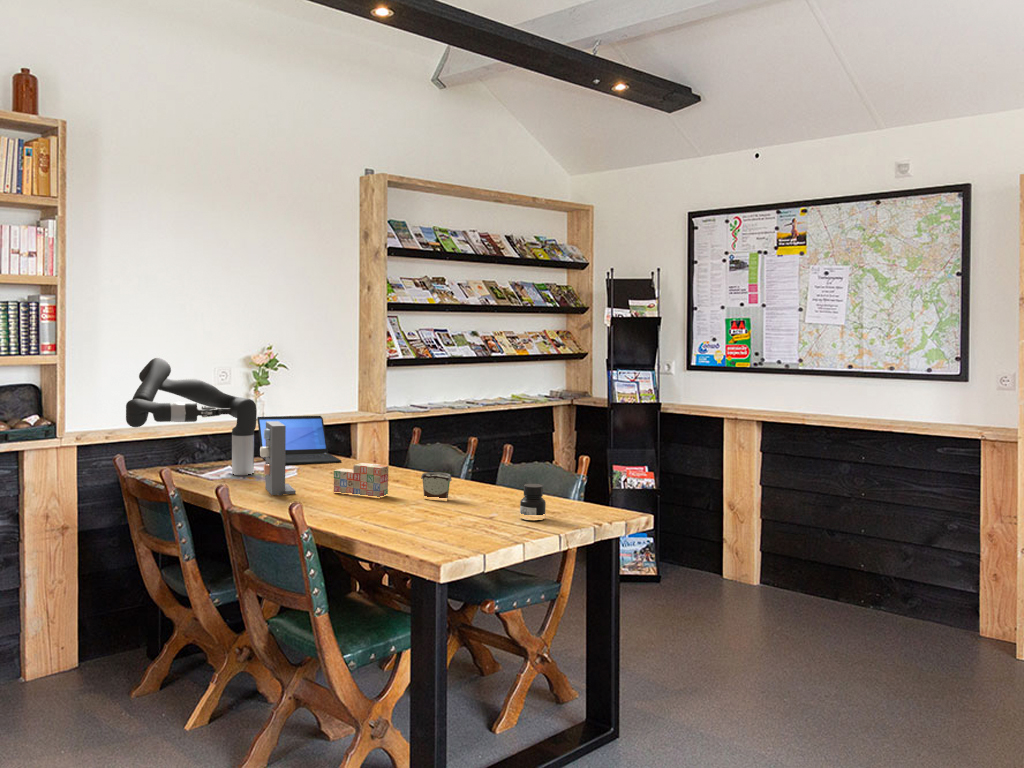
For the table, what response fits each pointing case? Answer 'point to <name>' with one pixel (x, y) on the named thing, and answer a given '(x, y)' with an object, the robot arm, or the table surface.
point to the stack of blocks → (362, 480)
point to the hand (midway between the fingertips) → (231, 411)
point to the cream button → (265, 451)
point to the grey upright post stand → (277, 460)
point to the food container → (436, 484)
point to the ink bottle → (533, 500)
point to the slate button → (266, 433)
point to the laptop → (301, 439)
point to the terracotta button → (266, 469)
